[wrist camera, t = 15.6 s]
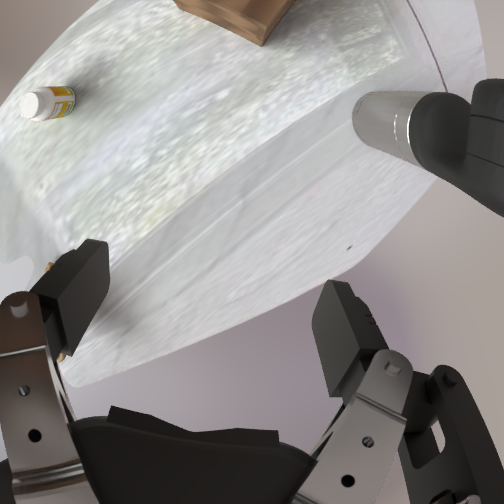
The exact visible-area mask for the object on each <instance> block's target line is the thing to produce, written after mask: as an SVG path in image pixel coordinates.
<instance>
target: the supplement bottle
mask: <svg viewBox="0 0 504 504" xmlns="http://www.w3.org/2000/svg"><path fill="white" fill-rule="evenodd" d="M74 104H75V95H74V92H73V91H72V90H71V89H70V88H69V87H65V86H59V87H40V88H38V89H36V90H35V91H34V92H29V93H27V94H26V95H25V96H24V97H23V98H22V100H21V104H20V112H21V115H22V116H23V117H24V118H25V119H32V120H34V121H38V122H39V121H45V120H49V119H55V118H60V117H64V116H66V115H68V114H69V113H70V112H71V111H72V109H73V107H74Z"/></svg>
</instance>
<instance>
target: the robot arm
mask: <svg viewBox="0 0 504 504" xmlns="http://www.w3.org/2000/svg"><path fill="white" fill-rule="evenodd" d="M352 120H353V126H354V129H355V132H356V133H357V135H358V137H359V138H360V139H361V140H362V141H363V142H364V143H366V144H367V145H369V146H371V147H374V148H376V149H379V150H381V151H383V152H386V153H388V154H391V155H393V156H396V157H398V158H400V159H403V160H405V161H407V162H409V163H412V164H414V165H416V166H419V167H421V168H423V169H425V170H427V171H429V172H431V173H433V174H435V175H436V176H438V177H440V178H442V179H444V180H446V181H447V182H449V183H451V184H453V185H454V186H456V187H457V188H459V189H461V190H462V191H463V192H465V193H467V194H468V195H470V196H471V197H472V198H474V199H475V200H477V201H478V202H479V203H481V204H482V205H484V206H486V207H487V208H489V209H490V210H492V211H493V212H495V213H496V214H498V215H500V216H502V217H504V79H486V80H482V81H480V82H478V83H477V84H476V85H475V87H474V91H473V95H472V101H471V105H470V104H469V103H468V102H467V101H466V100H465V99H463V98H462V97H460V96H458V95H456V94H452V93H446V92H372V93H368V94H366V95H364V96H363V97H361V98H360V99H359V101H358V102H357V103H356V105H355V107H354V110H353V117H352ZM109 285H110V272H109V249H108V244H107V242H105V241H99V240H94V239H86V240H85V241H84V242H83V243H82V244H81V245H80V246H79V247H78V249H77V250H74V249H73V250H71V251H69V252H67V253H65V254H63V255H62V256H61V257H60V258H59V259H58V260H57V261H56V262H55V265H54V264H53V265H52V266H51V267H50V269H49V271H47V272H46V273H45V274H44V275H43V276H42V277H41V278H40V280H39V281H38V282H37V283H36V284H35V285H34V286H33V287H32V289H31V290H30V291H29V292H28V291H19V292H15V293H12V294H10V295H8V296H7V297H6V298H4V300H3V301H2V302H1V304H0V424H1V430H2V435H3V440H4V444H5V448H6V452H7V456H8V458H7V459H5V460H3V461H2V462H0V504H374V503H375V501H376V499H377V496H378V494H379V492H380V490H381V488H382V486H383V484H384V481H385V479H386V477H387V474H388V472H389V470H390V466H391V465H392V462H393V460H394V457H395V454H396V452H397V449H398V453H399V457H400V461H401V465H402V469H403V473H404V477H405V481H406V486H407V490H408V495H409V500H410V504H504V469H503V466H502V463H501V461H500V458H499V456H498V453H497V450H496V448H495V445H494V443H493V441H492V438H491V436H490V434H489V431H488V429H487V427H486V425H485V422H484V420H483V418H482V416H481V413H480V411H479V409H478V407H477V405H476V403H475V401H474V399H473V397H472V395H471V393H470V391H469V389H468V387H467V385H466V383H465V381H464V379H463V377H462V376H461V375H460V373H459V372H458V371H456V370H455V369H454V368H452V367H450V366H447V365H439V366H437V367H436V368H435V369H434V370H433V372H432V373H431V374H430V375H428V374H424V373H420V372H416V371H413V367H412V365H411V363H410V362H409V360H408V359H407V358H406V357H404V356H403V355H402V354H400V353H399V352H396V351H394V350H390V349H389V347H388V345H387V343H386V342H385V339H384V337H383V336H382V333H381V332H380V329H379V327H378V325H376V321H375V319H374V318H373V317H372V314H371V312H370V310H369V308H368V306H367V305H366V304H365V303H364V302H363V301H362V300H361V299H360V298H359V297H355V295H354V293H353V291H352V289H351V287H350V285H349V283H348V282H342V281H335V280H327V281H326V283H325V285H324V288H323V290H322V293H321V295H320V298H319V300H318V303H317V305H316V308H315V311H314V313H313V318H312V330H313V334H314V337H315V341H316V345H317V349H318V353H319V356H320V360H321V364H322V368H323V372H324V376H325V380H326V384H327V388H328V392H329V397H342V399H343V403H342V405H341V406H340V407H339V409H338V411H337V412H336V414H335V416H334V417H333V419H332V420H331V422H330V424H329V425H328V427H327V428H326V430H325V432H324V433H323V434H322V436H321V438H320V439H319V441H318V442H317V444H316V445H315V446H314V448H313V449H312V450H311V451H310V453H309V454H307V453H305V452H304V451H302V450H300V449H298V448H296V447H294V446H291V445H288V444H286V443H282V442H279V434H278V431H277V430H257V429H244V428H233V429H225V430H215V431H204V432H191V431H187V430H185V429H183V428H180V427H178V426H175V425H173V424H170V423H168V422H165V421H163V420H161V419H159V418H156V417H154V416H152V415H148V414H143V413H139V412H135V411H131V410H127V409H123V408H119V407H115V406H111V408H110V411H109V414H108V416H94V417H88V418H83V419H80V420H77V418H76V416H75V414H74V412H73V409H72V406H71V403H70V401H69V398H68V394H67V391H66V388H65V385H64V382H63V378H62V375H61V371H60V368H59V364H58V361H57V358H58V357H59V355H60V353H62V354H65V355H68V356H71V357H72V356H73V354H74V352H75V350H76V348H77V346H78V344H79V342H80V341H81V339H82V337H83V335H84V333H85V331H86V330H87V328H88V326H89V324H90V322H91V321H92V319H93V317H94V315H95V314H96V312H97V310H98V309H99V307H100V305H101V303H102V302H103V300H104V298H105V297H106V295H107V293H108V290H109ZM437 420H438V421H439V423H440V426H441V429H442V431H443V434H444V437H445V447H444V449H443V451H442V452H441V453H440V452H439V449H438V446H437V443H436V440H435V437H434V434H433V432H432V429H431V426H432V425H433V424H434V423H435V422H436V421H437Z"/></svg>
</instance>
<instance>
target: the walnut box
mask: <svg viewBox="0 0 504 504" xmlns="http://www.w3.org/2000/svg"><path fill="white" fill-rule="evenodd" d="M173 1H174V2H175V3H176V5H177V6H178V8H179V9H181V10H183V11H186V12H189V13H191V14H194V15H196V16H198V17H201V18H203V19H205V20H208V21H210V22H212V23H214V24H217V25H219V26H221V27H223V28H225V29H227V30H229V31H232V32H234V33H236V34H238V35H240V36H242V37H244V38H246V39H247V40H249V41H251V42H253V43H255V44H257V45H259V46H262V45H263V43H264V42H265V41H266V39H267V38H268V37H269V35H270V34H271V33H272V31H273V30H274V28H275V27H276V26H277V25H278V23H279V22H280V21H281V19H282V18H283V17H284V15H285V14H286V13H287V12H288V10H289V9H290V8H291V6H292V5H293V4H294V3H295V1H296V0H173Z"/></svg>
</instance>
